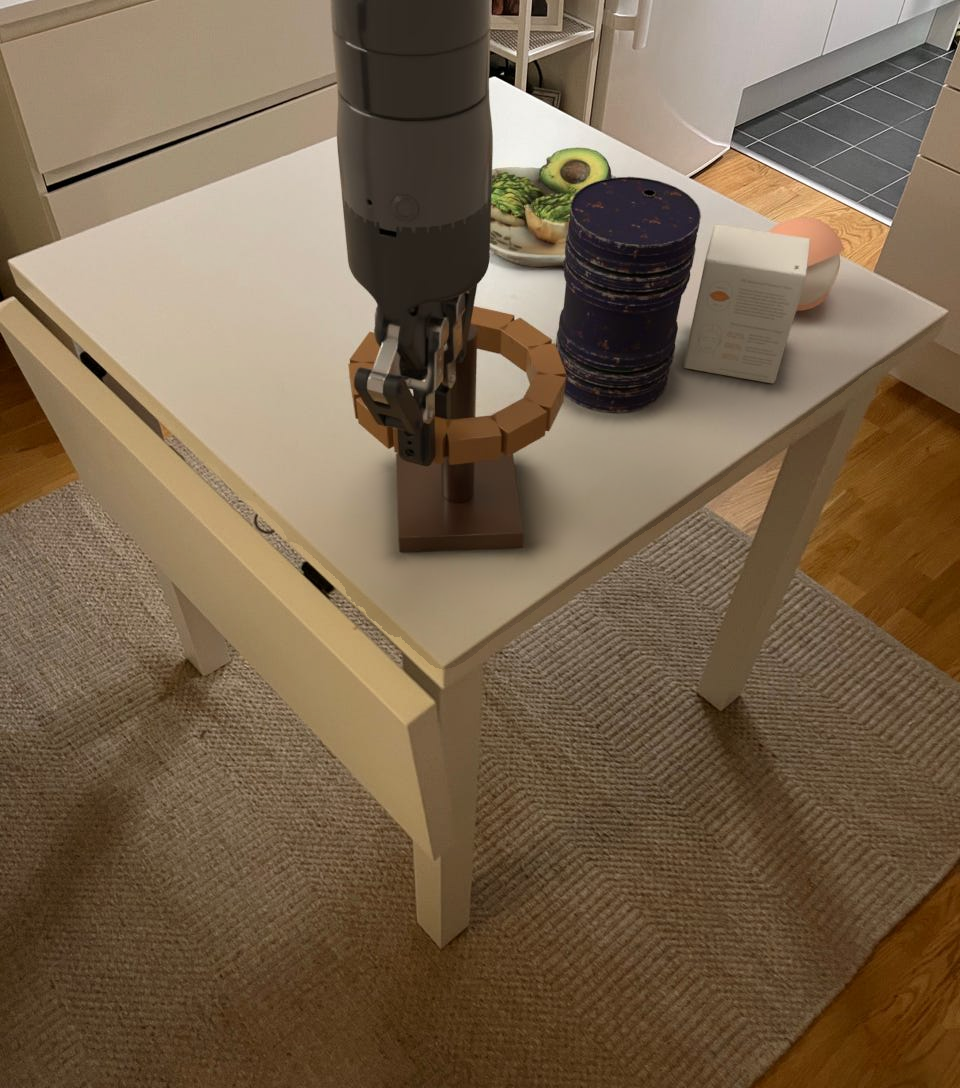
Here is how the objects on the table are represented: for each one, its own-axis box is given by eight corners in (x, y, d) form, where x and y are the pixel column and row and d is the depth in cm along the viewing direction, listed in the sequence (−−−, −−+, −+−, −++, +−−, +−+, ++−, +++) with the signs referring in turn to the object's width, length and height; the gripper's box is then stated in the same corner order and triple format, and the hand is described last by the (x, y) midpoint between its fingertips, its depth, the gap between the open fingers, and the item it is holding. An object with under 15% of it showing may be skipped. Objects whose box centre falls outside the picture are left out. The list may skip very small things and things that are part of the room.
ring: (364, 474, 62) (361, 450, 60) (343, 340, 70) (340, 315, 69) (583, 450, 63) (586, 426, 62) (536, 322, 72) (538, 297, 70)
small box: (780, 348, 88) (814, 237, 80) (774, 386, 85) (809, 275, 76) (690, 331, 89) (714, 221, 81) (680, 369, 86) (705, 257, 78)
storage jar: (643, 428, 81) (675, 260, 69) (534, 391, 84) (547, 224, 72) (684, 361, 87) (720, 196, 75) (580, 329, 89) (599, 164, 77)
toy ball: (783, 338, 89) (808, 257, 83) (725, 295, 93) (744, 215, 87) (846, 310, 92) (875, 230, 86) (787, 270, 96) (810, 190, 89)
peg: (399, 552, 72) (388, 377, 60) (396, 467, 78) (386, 291, 65) (522, 547, 73) (536, 373, 60) (511, 463, 78) (522, 287, 66)
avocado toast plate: (661, 285, 94) (669, 240, 90) (472, 287, 93) (472, 241, 89) (632, 181, 105) (638, 137, 102) (464, 182, 105) (464, 137, 101)
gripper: (400, 108, 54) (411, 370, 68) (285, 236, 46) (324, 504, 60) (531, 133, 53) (515, 396, 66) (435, 269, 45) (440, 536, 58)
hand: (424, 446), depth 63 cm, fingers closed on ring, 2 cm apart
